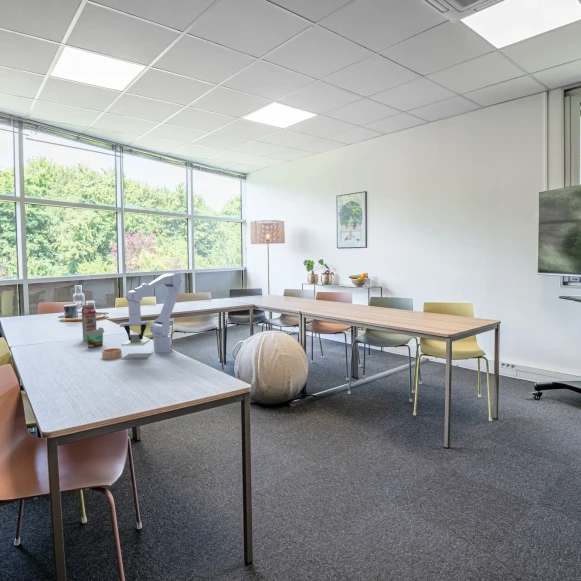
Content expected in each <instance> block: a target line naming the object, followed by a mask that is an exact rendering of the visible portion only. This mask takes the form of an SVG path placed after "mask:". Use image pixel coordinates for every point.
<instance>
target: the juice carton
mask: <svg viewBox="0 0 581 581" xmlns="http://www.w3.org/2000/svg"><path fill="white" fill-rule="evenodd" d="M81 307H82V308H81V323H82V324H81V326H82V340H83V341H84V342H87V335H86V331H92V330H97V314H96V311H97V310H96V309H95V304H87V305H86V304H85V305H82V306H81Z"/></svg>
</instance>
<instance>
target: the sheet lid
mask: <svg viewBox="0 0 581 581" xmlns="http://www.w3.org/2000/svg"><path fill="white" fill-rule="evenodd" d="M130 338H131V340H130V341H129V339H128V340H125V341H124V342H122V343H121V344H120V346H121V347H124V346H125V347H126V346H127V347H128V346H129V347H131V346H132V347H133V346H140V347H141V346H144V345H146V344H147V343H149V342H150V339H144V338H143V339H141V332H139V333H137V332H136V333H135V332H133V333H130Z"/></svg>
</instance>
